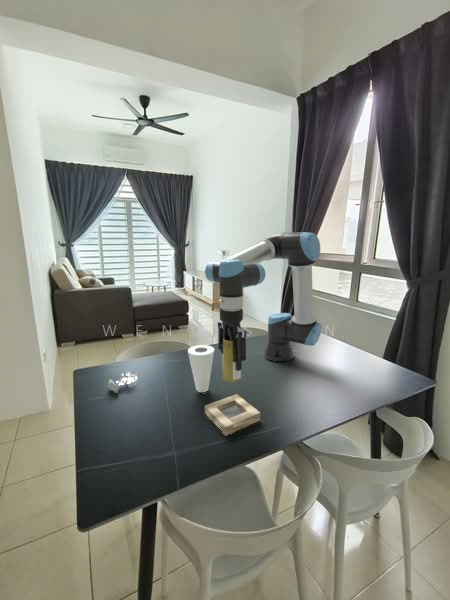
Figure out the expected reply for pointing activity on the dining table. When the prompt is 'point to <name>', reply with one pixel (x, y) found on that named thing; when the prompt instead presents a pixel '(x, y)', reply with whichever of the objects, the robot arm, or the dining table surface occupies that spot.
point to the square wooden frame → (232, 414)
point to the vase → (228, 361)
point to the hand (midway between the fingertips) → (231, 374)
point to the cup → (201, 365)
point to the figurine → (123, 380)
